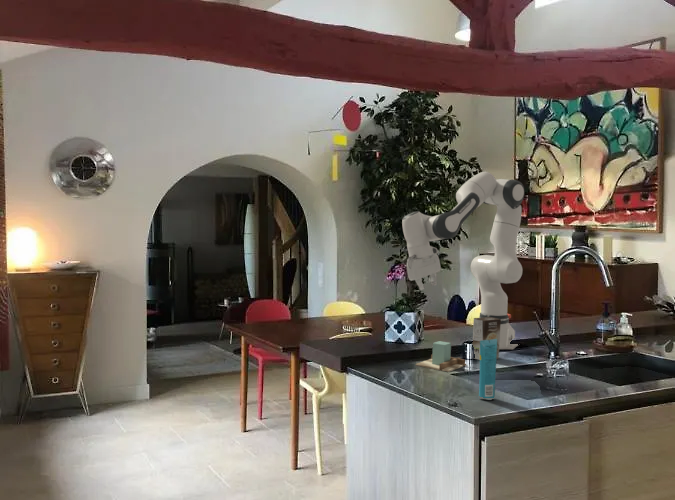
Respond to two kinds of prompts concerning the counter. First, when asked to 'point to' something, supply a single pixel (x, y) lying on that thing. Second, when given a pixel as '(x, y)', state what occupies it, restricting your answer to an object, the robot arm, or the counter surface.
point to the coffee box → (485, 333)
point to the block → (441, 352)
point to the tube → (487, 368)
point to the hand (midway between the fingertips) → (428, 287)
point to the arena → (444, 364)
